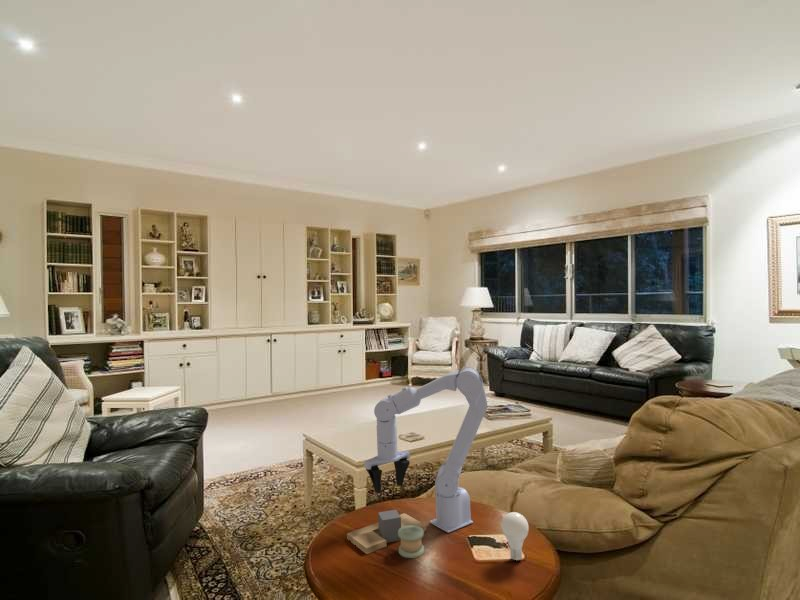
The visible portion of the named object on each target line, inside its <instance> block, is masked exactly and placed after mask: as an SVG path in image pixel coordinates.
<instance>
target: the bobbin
mask: <svg viewBox="0 0 800 600" xmlns="http://www.w3.org/2000/svg"><path fill="white" fill-rule="evenodd" d="M424 534H425V532H424V531H423V529H422V528H421V527H419V526H415V525H408V526H404V527H401V528H400V529H399V530H398V536H399V538H401V540H400V545H399V546H398V554H399V556H401V557H403V558H405V559H416V558H417V559H418V558H420V557H422V555H424V554H425V545H423V543H422V538H423V537H424Z"/></svg>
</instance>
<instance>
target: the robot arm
mask: <svg viewBox="0 0 800 600" xmlns="http://www.w3.org/2000/svg"><path fill="white" fill-rule="evenodd" d="M483 381H484V380H483V378H482V376H481V375H480V374H479V372H478V370H477V369H475V368H474V367H471V366H466V367H463V368H461V369H457V370H454V371H451V372H449V373H445V374H444V375H442V376H439V377H438V378H436V379H434V380H431V381H430V382H428V383H426V384H424V385H422V386H420V387H418V388H417V387H413V386H409V387H407V386H405V387H402V389H401V391H399V392H396V393H393V394H387V396H386V397H384V398H382V399H380V400H379V401H378V403H376V404H375V406H374V409H373V413H374V416H375V418H376V442H377V443H376V446H377V447H376V449H377V455H376V456H373V457H371V458H370V459H367V460H364V462H363V463H364V469H365V471H366V472H367V473H368V475H369V477H370V480H371V482H372V486H373V490H374V492H375V493H377V494H381V493H382V491H381V490H382V484H381V483H382V482H381V481H382V474H383V470H382V469H380V467H379V466H383V465H388V464H391V463H393V465H394V470H395V482H396V485H397V486H399V487H403V485H404V481H405V477H406V476H405V475H406V472H407V471H408V468H409V466H410V460H409V459H411V452H410V451H408V450H401V451H398V435H397V433H398V432H397V421H396V419H397V418H396V415H401V414H404V413H406V412H408V411H409V410H412V409H414V408H416V407H418V406H419V405H420V404H421V401H422V400H423V399H425V398H428V397H430V396H433V395H435V394H437V393H440V392H442V391H444V390H447V391H448V390H449V391H452V392H457V389H458V391H459V392H460V393H461V394H462V395H463V396H464V397H465V399H466V401H467V403H468V405H469V406H468V409H467V410H466V414H465V416H464V417H463V421H462V423H461V426H460V428H459V430H458V432H457V434H456V438H455V440H454V441H453V444H452V446H451V448H450V451H449V453H448V455H447V457H446V460H445V461H444V462H443V463H442V464H441V465H440V466H439V467H438V469H437V476H436V478H435V482H434V486H435V491H434V492H435V493H434V494H435V513H436V514H435V516H436V518H434V519H432V520H431V519H430V521H429V523H430V524H432V526H435V527H437V528H439V529H440V530H442V531H443V532H446V533H451V532H454V531H456V530H460V529H461V528H463V527H465V526H469V525H471V524H473V523H474V521H473V520H472V517H471V516H472V515H471V499H470V495H469V493H468V491H467V490H466V489H465V488H464V487H460V486H459V479H460V475H461V472H462V468H463V466H464V463H465V461H466V459H467V456H468V454H469V451H470V449H471V447H472V444H473V442H474V441H475V438H476V435H477V432H478V430H479V428H480V426H481V423H482V421H483V419H484V416H485V414H486V412H487V408H488V399H487V394H486V391H485V385H484V382H483Z"/></svg>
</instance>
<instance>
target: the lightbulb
mask: <svg viewBox="0 0 800 600" xmlns="http://www.w3.org/2000/svg"><path fill="white" fill-rule="evenodd" d="M500 523H501V524H500V525H501V526H500V527H501V530H502V531H501V532H502V533H503V536H504V537H505V539H506V541H507V543H508V546H509V548H510V549H509V552H510V553H509V554H510V555H509V556H510V559H512V560H513V561H515V560H516V562H518V561H520V560H522V559H523V557H522V556H523V550H522V549H523V544H524V541H525V540H526V538H527V537H528V534H529V529H530V526H529V522H528V520H527V519H526V517H525V515H523V514H521V513H520V512H516V511H512V512H511V511H510V512H508V513H506V514H505V515H504V517H503V518H502V520H501V522H500Z"/></svg>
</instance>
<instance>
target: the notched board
mask: <svg viewBox="0 0 800 600" xmlns="http://www.w3.org/2000/svg"><path fill="white" fill-rule="evenodd" d="M399 515H400V517H401V527H404V526H408V525H415V526H419V527H421V528H422V529H423V531H424V533H425V532H426V531H427V525H426V524H424V523H423V522H421V521H419V520H418V519H416V518H414V517H413V516H410V515H409V514H407V513H405V512H404V513H401V514H399ZM346 539H347V540H348V541H349V540H350V541H351V542H350V541H349V542H350V543H352V544H353V545H354V546H355V545H356V547H357V548H358V549H360V550H361V552H363V553H365V555H368V554H372V553H374V552H376V551H378V550H382V549H383V548H387V544H388V543H386V540H385V539H383V538H382V537H381V536H379V524H378V522H375V523H373V524H369V525H367V526H364V527H361V528H358V529H355V530H351V531H350V532H349V531H348V532H347V533H346Z"/></svg>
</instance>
